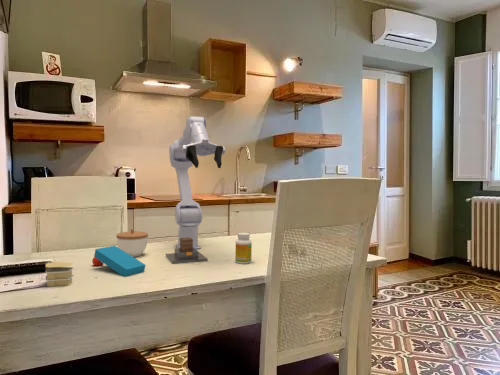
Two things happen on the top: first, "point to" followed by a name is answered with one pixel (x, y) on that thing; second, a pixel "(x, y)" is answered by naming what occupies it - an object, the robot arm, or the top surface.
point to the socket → (186, 256)
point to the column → (186, 244)
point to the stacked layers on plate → (58, 273)
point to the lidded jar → (132, 242)
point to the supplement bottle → (243, 248)
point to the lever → (118, 261)
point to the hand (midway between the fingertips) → (208, 165)
